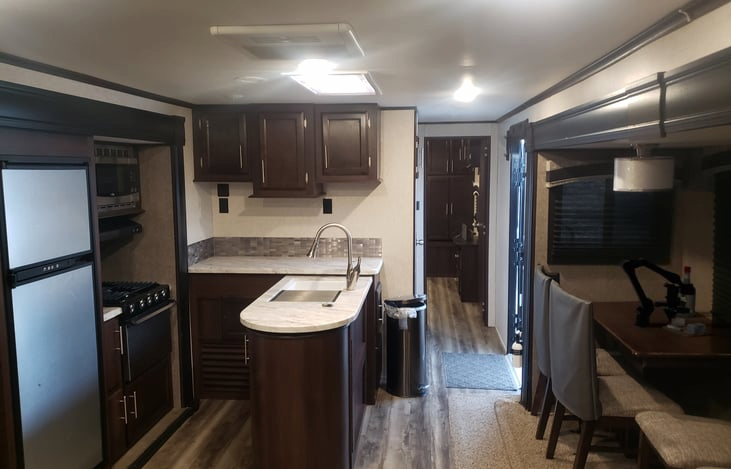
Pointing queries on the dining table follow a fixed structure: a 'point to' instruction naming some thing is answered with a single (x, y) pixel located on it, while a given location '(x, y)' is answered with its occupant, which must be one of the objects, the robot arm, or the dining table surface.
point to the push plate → (677, 322)
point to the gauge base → (688, 329)
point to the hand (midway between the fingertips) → (671, 322)
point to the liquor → (688, 298)
